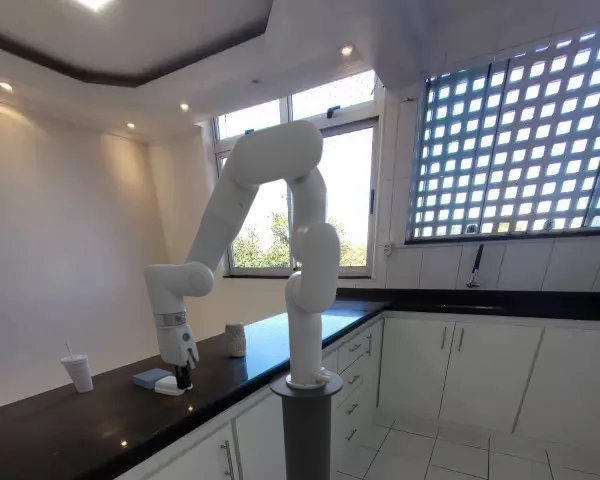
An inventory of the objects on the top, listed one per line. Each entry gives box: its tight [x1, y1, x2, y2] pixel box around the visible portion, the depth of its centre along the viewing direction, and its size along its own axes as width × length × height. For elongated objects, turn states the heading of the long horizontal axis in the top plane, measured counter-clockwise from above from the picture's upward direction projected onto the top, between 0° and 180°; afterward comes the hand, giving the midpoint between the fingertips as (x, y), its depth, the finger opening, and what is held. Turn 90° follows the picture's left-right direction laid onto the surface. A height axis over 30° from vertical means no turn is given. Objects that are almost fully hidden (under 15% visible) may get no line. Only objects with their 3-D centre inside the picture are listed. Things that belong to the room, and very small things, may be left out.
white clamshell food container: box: [153, 375, 194, 396], centre depth 87 cm, size 9×7×3 cm
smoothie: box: [59, 341, 94, 394], centre depth 86 cm, size 6×6×14 cm
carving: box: [224, 321, 247, 358], centre depth 111 cm, size 6×8×12 cm
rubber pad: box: [132, 367, 174, 390], centre depth 92 cm, size 8×8×2 cm
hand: (184, 387), depth 84 cm, fingers closed
